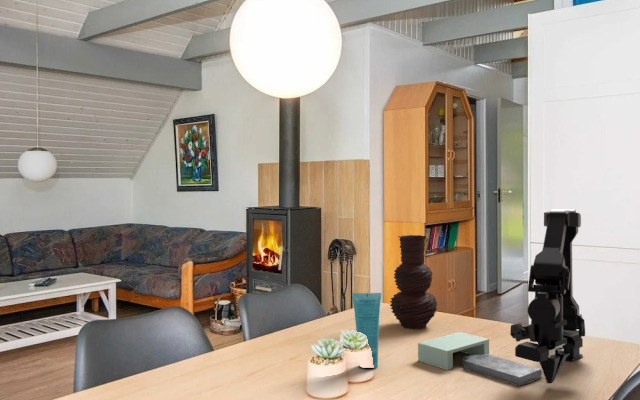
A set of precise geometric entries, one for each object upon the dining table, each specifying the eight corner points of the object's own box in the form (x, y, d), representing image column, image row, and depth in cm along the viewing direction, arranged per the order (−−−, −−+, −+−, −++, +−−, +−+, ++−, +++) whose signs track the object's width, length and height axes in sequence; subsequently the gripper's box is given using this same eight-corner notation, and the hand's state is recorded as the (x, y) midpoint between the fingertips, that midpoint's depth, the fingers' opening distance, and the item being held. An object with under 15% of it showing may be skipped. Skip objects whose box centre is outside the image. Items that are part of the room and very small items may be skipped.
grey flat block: (541, 378, 136) (541, 369, 136) (519, 386, 130) (519, 377, 130) (479, 360, 150) (479, 351, 150) (457, 367, 145) (457, 358, 144)
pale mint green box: (489, 356, 152) (489, 339, 152) (447, 370, 142) (447, 351, 142) (459, 348, 160) (459, 331, 160) (418, 360, 150) (418, 342, 150)
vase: (382, 323, 191) (381, 235, 190) (423, 319, 196) (422, 233, 195) (402, 334, 177) (401, 239, 176) (446, 329, 181) (444, 237, 180)
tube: (380, 363, 149) (379, 290, 148) (384, 369, 144) (382, 294, 143) (352, 364, 148) (351, 291, 147) (355, 370, 143) (354, 295, 143)
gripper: (540, 303, 141) (540, 365, 141) (494, 315, 129) (495, 382, 130) (583, 311, 132) (584, 377, 132) (538, 324, 121) (539, 396, 121)
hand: (549, 382), depth 129 cm, fingers closed
